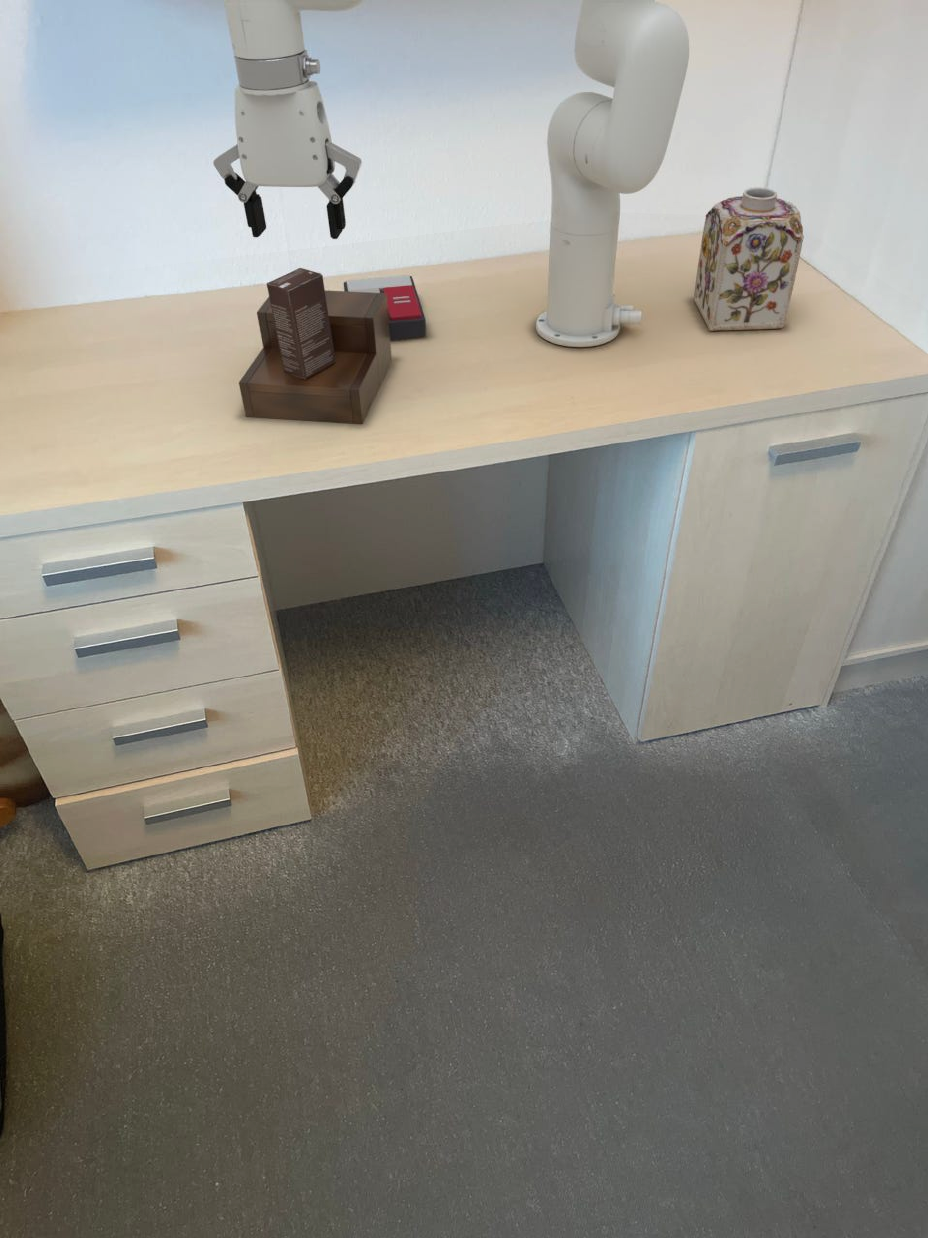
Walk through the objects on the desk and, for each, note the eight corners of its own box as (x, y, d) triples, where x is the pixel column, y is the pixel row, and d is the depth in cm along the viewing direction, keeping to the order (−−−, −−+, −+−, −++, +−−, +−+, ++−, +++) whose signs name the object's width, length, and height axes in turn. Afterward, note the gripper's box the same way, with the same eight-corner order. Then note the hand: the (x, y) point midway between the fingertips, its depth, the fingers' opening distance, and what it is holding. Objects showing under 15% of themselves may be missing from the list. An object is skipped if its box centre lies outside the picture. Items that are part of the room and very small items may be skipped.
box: (312, 354, 123) (300, 265, 114) (336, 363, 121) (325, 273, 112) (280, 371, 119) (264, 281, 111) (304, 381, 117) (290, 290, 109)
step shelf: (391, 360, 132) (386, 292, 125) (362, 424, 119) (354, 352, 112) (286, 354, 134) (275, 287, 127) (245, 416, 121) (230, 346, 114)
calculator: (351, 321, 133) (342, 276, 143) (354, 348, 136) (345, 302, 146) (425, 314, 134) (411, 270, 145) (426, 341, 137) (412, 296, 148)
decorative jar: (764, 297, 145) (789, 177, 133) (785, 329, 136) (814, 204, 124) (690, 299, 145) (708, 179, 132) (706, 332, 136) (727, 207, 124)
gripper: (358, 62, 99) (375, 223, 111) (208, 63, 101) (240, 221, 113) (341, 80, 94) (360, 247, 105) (183, 80, 96) (219, 244, 108)
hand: (298, 233), depth 109 cm, fingers open, 9 cm apart
